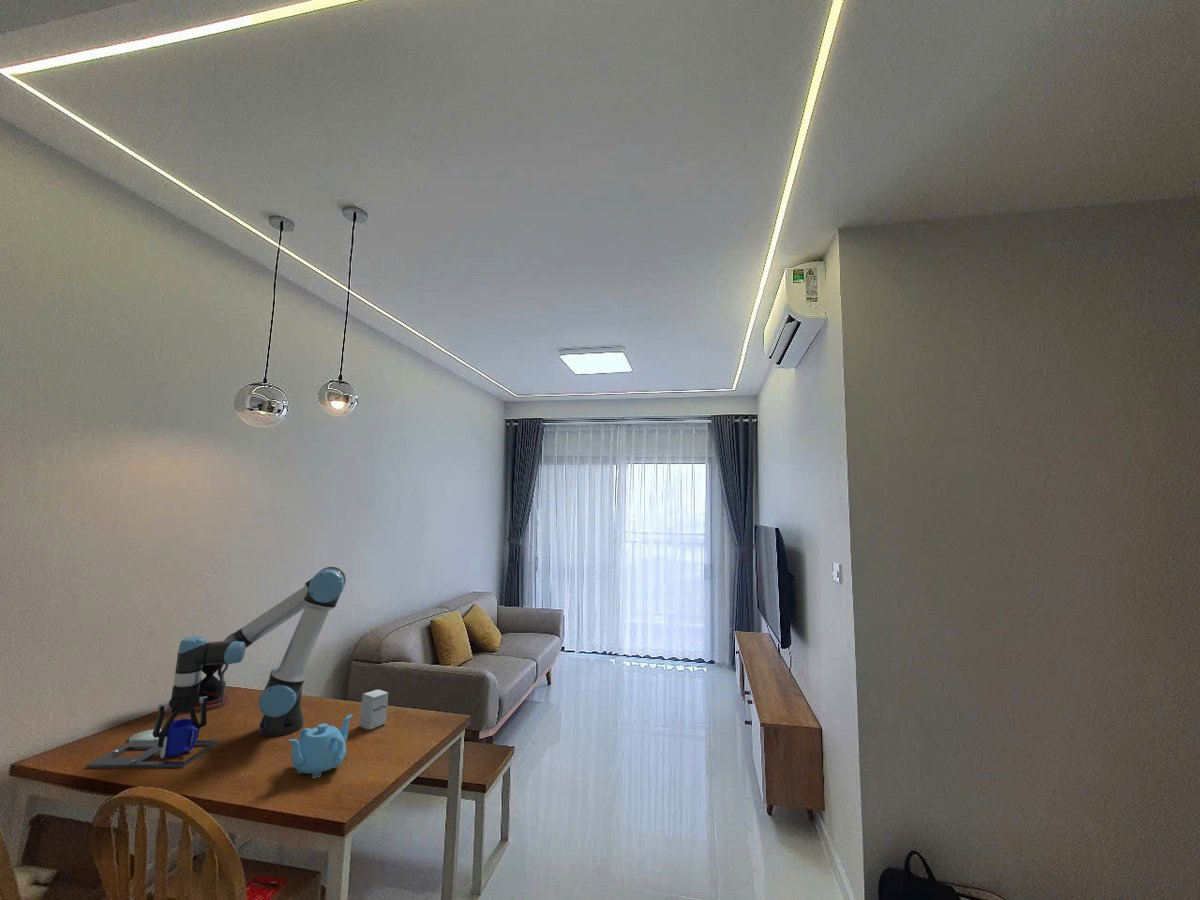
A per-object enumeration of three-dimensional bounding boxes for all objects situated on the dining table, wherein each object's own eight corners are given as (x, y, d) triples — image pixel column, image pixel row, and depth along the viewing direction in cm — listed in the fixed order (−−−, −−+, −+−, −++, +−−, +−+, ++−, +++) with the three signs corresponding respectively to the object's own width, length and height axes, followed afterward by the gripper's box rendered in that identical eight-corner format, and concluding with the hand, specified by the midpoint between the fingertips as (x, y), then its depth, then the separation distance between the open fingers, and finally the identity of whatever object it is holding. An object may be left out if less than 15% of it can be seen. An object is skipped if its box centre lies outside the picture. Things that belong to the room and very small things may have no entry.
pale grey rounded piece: (175, 731, 193) (176, 728, 193) (152, 743, 182) (153, 741, 182) (145, 730, 192) (145, 728, 192) (120, 743, 181) (120, 741, 181)
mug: (181, 762, 170) (185, 730, 171) (153, 757, 172) (157, 726, 174) (205, 751, 178) (208, 721, 179) (177, 746, 180) (181, 717, 181)
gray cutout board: (219, 743, 184) (219, 739, 184) (182, 767, 166) (183, 763, 166) (132, 743, 182) (132, 739, 182) (85, 768, 164) (86, 763, 164)
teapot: (282, 786, 157) (287, 739, 159) (298, 757, 175) (302, 715, 177) (340, 780, 162) (344, 734, 164) (349, 752, 180) (353, 711, 182)
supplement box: (369, 731, 198) (372, 697, 200) (358, 726, 202) (361, 693, 204) (386, 724, 205) (389, 692, 206) (375, 720, 209) (377, 688, 210)
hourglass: (203, 697, 227) (210, 640, 230) (237, 699, 226) (244, 641, 229) (171, 711, 211) (180, 649, 214) (208, 713, 210) (216, 651, 213)
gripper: (218, 675, 187) (209, 740, 184) (147, 687, 172) (136, 758, 169) (223, 680, 183) (214, 747, 179) (151, 692, 168) (140, 766, 164)
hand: (176, 752), depth 174 cm, fingers closed on mug, 7 cm apart
